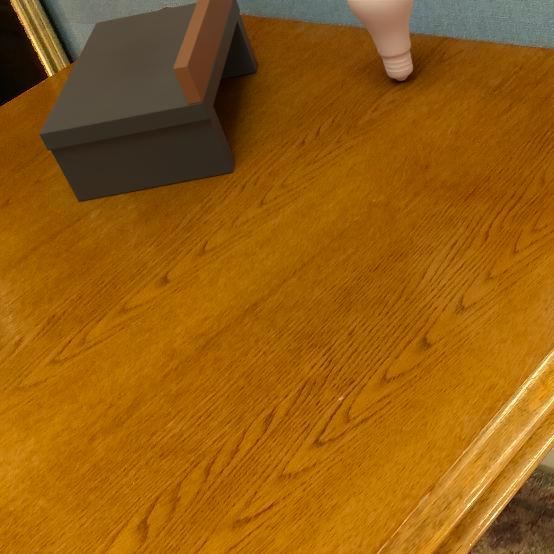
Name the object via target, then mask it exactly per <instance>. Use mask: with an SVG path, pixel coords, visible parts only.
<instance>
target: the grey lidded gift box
mask: <svg viewBox="0 0 554 554" xmlns="http://www.w3.org/2000/svg"><path fill="white" fill-rule="evenodd" d="M240 12H241V8H240V5H239V4H238V1H237V0H197V1H196V2H192V3H188V4H184V5H179V6H178V5H177V6H173V7H168V8H163V9H158V10H153V11H148V12H143V13H138V14H133V15H127V16H123V17H118V18H113V19H108V20H103V21H102V20H101V21H97V22H96V23H95V24H94V27H93V29H92V31H91V32H90V35H89V36H88V38H87V40H86V43H85V44H84V45H83V48H82V50H81V52H80V54H79V55H78V58H77V59H76V62H75V64H74V65H73V67H72V69H71V71H70V73H69V75H68V77H67V79H66V81H65V83H64V85H63V86H62V88H61V90H60V93H59V94H58V96H57V98H56V100H55V102H54V104H53V106H52V108H51V110H50V112H49V114H48V116H47V118H46V120H45V122H44V124H43V125H42V127H41V129H40V131H39V133H38V134H39V137H40V138H41V141H42V143H43V144H44V146H45V148H46V150H47V151H50V152H51V154H52V155H53V157H54V159H55V161H56V163H57V165H58V166H59V169H60V170H61V172H62V173H63V176H64V177H65V179H66V181H67V183H68V185H69V187H70V188H71V190H72V192H73V194H74V195H75V198H76V200H77V201H78V202H84V201H88V200H89V201H90V200H94V199H99V198H104V197H110V196H116V195H121V194H125V193H126V194H127V193H131V192H137V191H141V190H148V189H152V188H157V187H164V186H168V185H174V184H179V183H185V182H189V181H195V180H199V179H205V178H206V179H207V178H210V177H215V176H222V175H226V174H232V173H234V169H235V165H236V159H235V157H234V154H233V152H232V148H231V146H230V144H229V142H228V139H227V136H226V134H225V132H224V130H223V126H222V124H221V122H220V119H219V117H218V114H217V112H216V109H215V107H214V104H215V101H216V97H217V94H218V91H219V86H220V83H221V80H224V79H230V78H235V77H240V76H244V75H250V74H255V73H257V71H258V70H257V69H258V66H259V63H258V60H257V57H256V54H255V52H254V48H253V46H252V43H251V41H250V38H249V35H248V31H247V30H246V26H245V23H244V21H243V18H242V15H241V13H240Z"/></svg>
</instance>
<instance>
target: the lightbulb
mask: <svg viewBox="0 0 554 554" xmlns="http://www.w3.org/2000/svg"><path fill="white" fill-rule="evenodd" d="M414 1H415V0H346V3H347V5H348V7H349V9H350V11H351V13H352V14H353V15H354V16H355V18H356V19H357V20H358V21H359V22H360V23H361V24H362V26H363V27H364V28H365V29H366V30H367V32H368V33H369V35H370V36H371V39H372V40H373V43H374V45H375V48H376V51H377V54H378V55H379V56H380V57H381V59H382V63H383V66H384V69H385V72H386V75H387V76H388V77H389V78H391V79H394V80H396V81H398V82H402V81H405V80H406V79H408V76H409V75H410V74H412V72H413V70H414V66H413V58H412V54H411V48H412V43H411V37H410V19H411V15H412V10H413V6H414Z"/></svg>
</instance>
